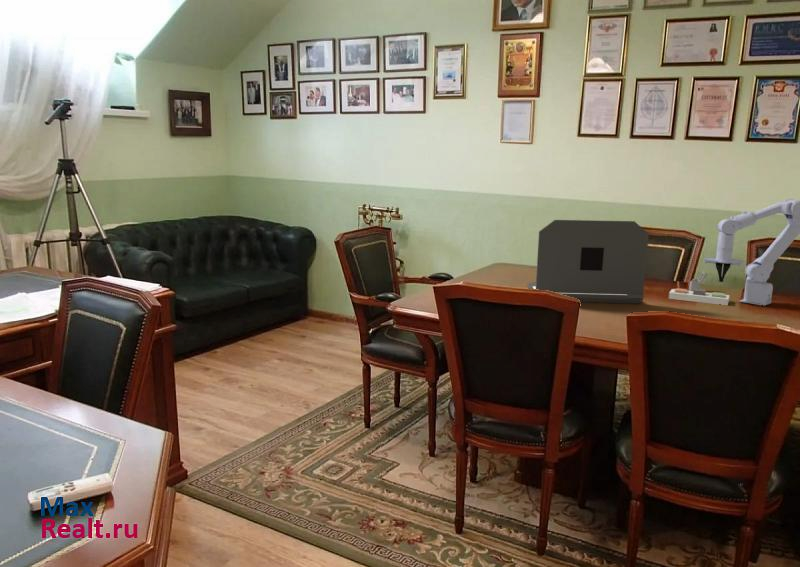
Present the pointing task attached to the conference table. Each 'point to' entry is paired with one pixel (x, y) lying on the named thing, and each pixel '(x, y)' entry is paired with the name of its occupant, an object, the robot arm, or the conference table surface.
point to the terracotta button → (681, 290)
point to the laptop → (592, 260)
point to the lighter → (696, 282)
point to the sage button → (718, 294)
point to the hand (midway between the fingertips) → (721, 281)
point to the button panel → (699, 297)
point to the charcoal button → (699, 292)
